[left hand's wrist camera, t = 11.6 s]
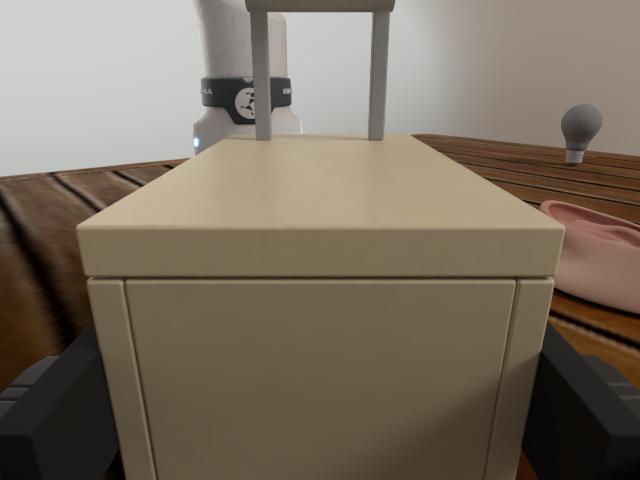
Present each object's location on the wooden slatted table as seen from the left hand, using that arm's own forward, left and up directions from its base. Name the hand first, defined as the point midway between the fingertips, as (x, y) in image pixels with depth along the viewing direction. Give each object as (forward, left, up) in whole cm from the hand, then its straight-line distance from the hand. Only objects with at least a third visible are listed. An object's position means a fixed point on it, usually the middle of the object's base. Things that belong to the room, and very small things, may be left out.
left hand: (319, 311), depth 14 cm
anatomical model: (+1, +28, -7) cm, 29 cm away
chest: (-3, +2, -7) cm, 8 cm away
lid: (-3, +3, +3) cm, 5 cm away
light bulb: (-20, +75, -7) cm, 78 cm away
